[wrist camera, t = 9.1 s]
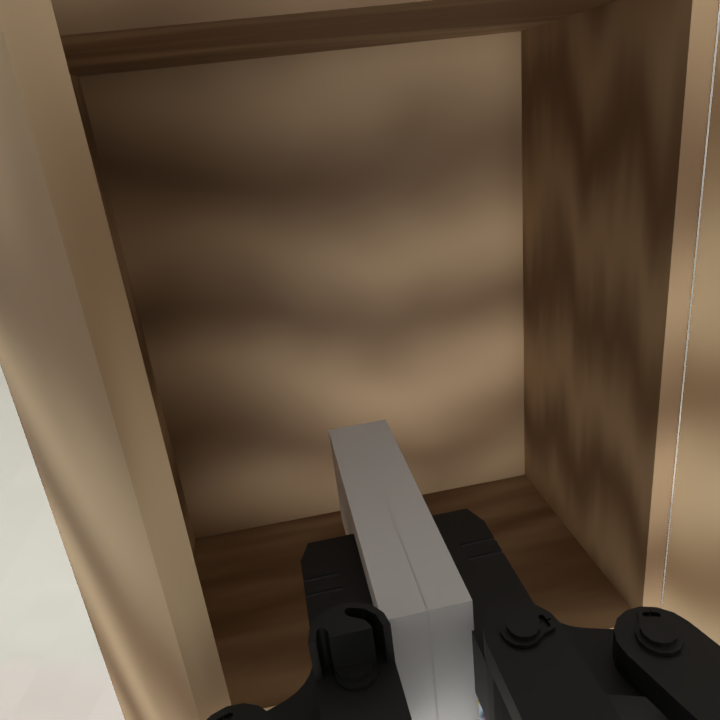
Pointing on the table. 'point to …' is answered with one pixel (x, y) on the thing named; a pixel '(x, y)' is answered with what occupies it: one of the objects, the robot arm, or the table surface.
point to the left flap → (92, 391)
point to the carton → (405, 275)
